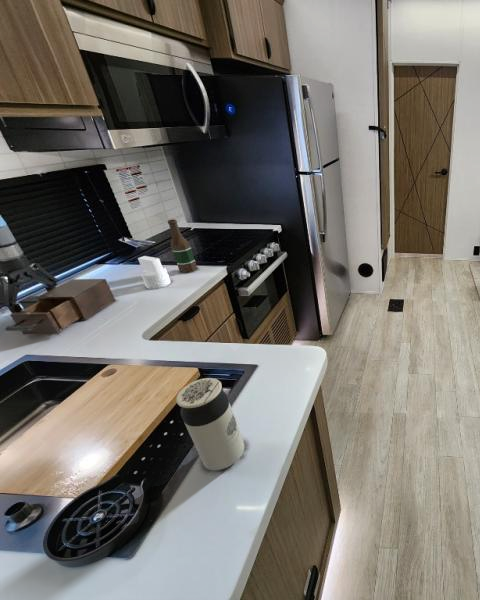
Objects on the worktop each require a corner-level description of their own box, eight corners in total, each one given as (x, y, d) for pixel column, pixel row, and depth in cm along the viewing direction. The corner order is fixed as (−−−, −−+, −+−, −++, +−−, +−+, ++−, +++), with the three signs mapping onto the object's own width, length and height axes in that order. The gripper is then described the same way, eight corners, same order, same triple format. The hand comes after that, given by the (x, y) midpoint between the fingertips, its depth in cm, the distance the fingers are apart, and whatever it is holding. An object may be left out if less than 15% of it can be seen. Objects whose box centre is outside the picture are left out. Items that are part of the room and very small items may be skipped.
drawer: (44, 343, 104) (31, 322, 101) (7, 343, 104) (-7, 322, 100) (91, 313, 120) (81, 294, 117) (59, 313, 120) (48, 294, 117)
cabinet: (86, 320, 118) (73, 296, 113) (50, 321, 118) (35, 297, 113) (116, 300, 131) (105, 278, 126) (83, 301, 130) (71, 279, 126)
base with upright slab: (175, 281, 146) (166, 255, 140) (156, 290, 139) (145, 263, 133) (160, 278, 149) (151, 253, 143) (141, 287, 141) (130, 260, 135)
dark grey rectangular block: (46, 313, 122) (38, 301, 119) (26, 314, 122) (18, 301, 119) (56, 308, 126) (49, 295, 123) (37, 308, 126) (29, 296, 123)
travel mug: (194, 468, 67) (163, 404, 59) (219, 436, 74) (194, 374, 66) (230, 474, 66) (204, 410, 58) (251, 440, 73) (231, 378, 64)
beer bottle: (201, 269, 158) (185, 219, 146) (185, 274, 152) (167, 223, 141) (192, 265, 161) (175, 217, 150) (175, 271, 156) (157, 221, 144)
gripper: (32, 245, 124) (61, 295, 135) (-45, 272, 103) (-4, 329, 113) (52, 245, 125) (79, 294, 135) (-20, 271, 103) (19, 328, 113)
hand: (42, 310), depth 124 cm, fingers open, 13 cm apart
